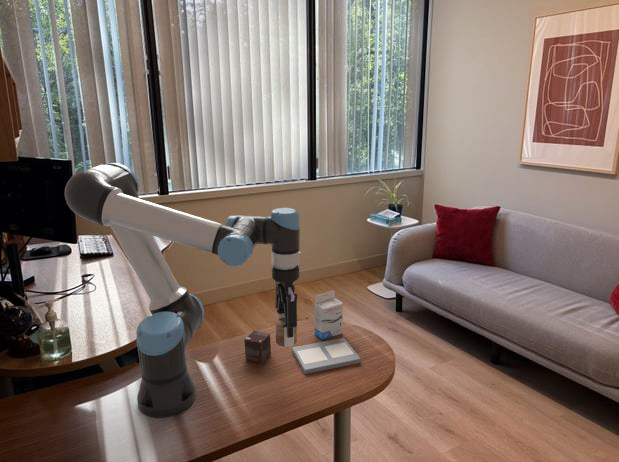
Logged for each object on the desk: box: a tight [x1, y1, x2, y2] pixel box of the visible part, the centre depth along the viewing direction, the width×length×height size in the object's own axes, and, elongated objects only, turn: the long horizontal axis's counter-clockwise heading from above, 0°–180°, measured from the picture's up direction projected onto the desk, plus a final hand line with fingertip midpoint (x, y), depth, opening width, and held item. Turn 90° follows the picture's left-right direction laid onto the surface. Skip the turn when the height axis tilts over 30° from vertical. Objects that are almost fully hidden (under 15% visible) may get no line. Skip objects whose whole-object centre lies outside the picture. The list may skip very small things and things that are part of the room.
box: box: [243, 330, 272, 364], centre depth 144 cm, size 6×6×7 cm
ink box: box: [314, 289, 344, 341], centre depth 156 cm, size 8×5×15 cm, turn 123°
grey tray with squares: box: [291, 337, 362, 375], centre depth 145 cm, size 18×13×2 cm
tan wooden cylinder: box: [275, 318, 298, 348], centre depth 132 cm, size 6×6×6 cm
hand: (285, 339), depth 133 cm, fingers closed on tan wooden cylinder, 6 cm apart
